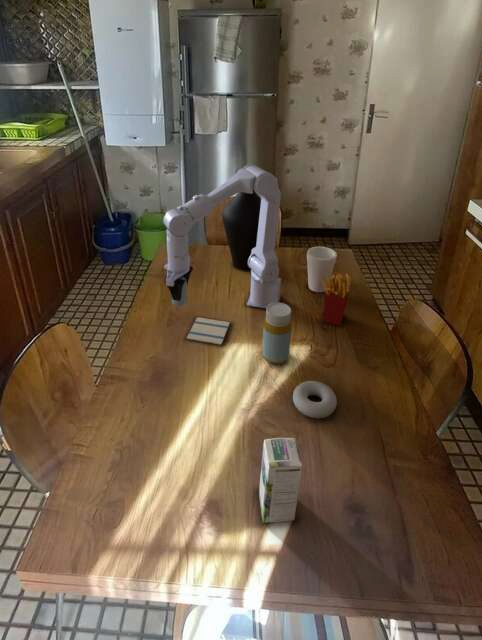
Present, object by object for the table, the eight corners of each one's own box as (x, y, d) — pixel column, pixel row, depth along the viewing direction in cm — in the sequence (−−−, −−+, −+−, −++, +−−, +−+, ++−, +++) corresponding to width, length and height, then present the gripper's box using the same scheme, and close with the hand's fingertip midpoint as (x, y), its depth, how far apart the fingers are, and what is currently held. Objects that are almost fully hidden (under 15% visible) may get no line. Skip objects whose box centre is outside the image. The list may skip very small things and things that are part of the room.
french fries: (343, 328, 126) (350, 284, 120) (315, 321, 129) (320, 278, 123) (347, 312, 134) (354, 269, 127) (320, 306, 136) (326, 264, 130)
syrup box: (258, 492, 81) (261, 438, 75) (289, 490, 81) (295, 435, 75) (262, 524, 76) (267, 468, 70) (296, 521, 76) (303, 465, 70)
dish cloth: (229, 323, 128) (229, 322, 128) (221, 344, 119) (221, 343, 119) (197, 318, 130) (197, 317, 130) (186, 339, 121) (186, 337, 121)
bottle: (287, 367, 111) (291, 319, 105) (260, 363, 113) (263, 315, 106) (289, 349, 117) (293, 303, 111) (263, 346, 119) (266, 300, 112)
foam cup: (299, 289, 145) (302, 254, 139) (309, 277, 152) (313, 244, 147) (326, 297, 141) (331, 262, 135) (336, 285, 148) (340, 251, 142)
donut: (333, 427, 95) (338, 394, 103) (334, 416, 93) (340, 383, 102) (288, 415, 98) (296, 383, 106) (289, 403, 96) (297, 373, 105)
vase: (224, 252, 168) (225, 164, 153) (268, 255, 167) (274, 166, 152) (218, 274, 153) (219, 179, 138) (267, 278, 152) (273, 181, 136)
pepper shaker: (189, 298, 126) (188, 274, 123) (184, 306, 123) (183, 281, 119) (175, 296, 127) (174, 272, 124) (169, 304, 123) (168, 279, 120)
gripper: (173, 239, 125) (175, 280, 131) (153, 263, 113) (156, 306, 118) (196, 242, 124) (197, 283, 130) (179, 266, 111) (181, 310, 117)
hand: (179, 295), depth 124 cm, fingers closed on pepper shaker, 4 cm apart
